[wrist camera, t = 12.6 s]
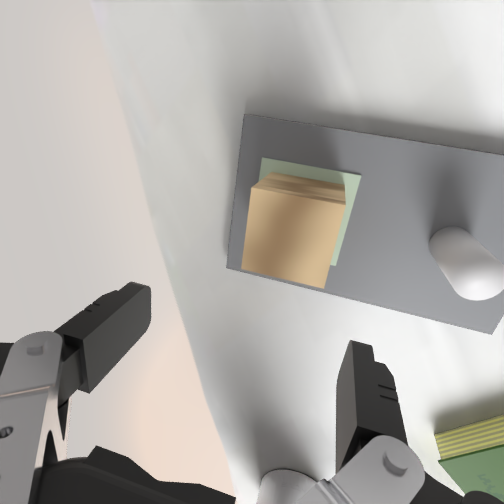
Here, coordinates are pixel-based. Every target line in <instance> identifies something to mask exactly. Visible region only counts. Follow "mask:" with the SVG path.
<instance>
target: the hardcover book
mask: <svg viewBox="0 0 504 504" xmlns="http://www.w3.org/2000/svg"><path fill="white" fill-rule="evenodd" d="M434 436H435V439H436V443H437V446H438V450H439V453H440V457H441V460H438V462H439V464H440V465H441V466H442V467H443V468H444V469H445V471H446V472H447V473H448V474H449V475H450V477H451V478H452V479H453V480H454V481H455V482H456V484H457V485H458V486H459V487H460V488H461V489H462V491H463V492H464V493H465V494H466V493H468V492H470V491H476V490H477V491H482V492H486V493H488V494H490V495H493V496H494V497H496V498H498V499H499V500H501V501H502V502H504V414H503V415H500V416H497V417H493V418H490V419H486V420H483V421H479V422H476V423H472V424H469V425H465V426H462V427H459V428H455V429H452V430H448V431H445V432H441V433H438V434H434Z"/></svg>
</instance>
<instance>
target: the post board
mask: <svg viewBox="0 0 504 504" xmlns="http://www.w3.org/2000/svg"><path fill="white" fill-rule="evenodd" d="M271 172H275V173H281V174H287V175H292V176H298V177H303V178H309V179H315V180H320V181H326V182H331V183H337V184H343V185H345V199H346V207H345V210H344V214H343V218H342V222H341V226H340V229H339V233H338V237H337V241H336V245H335V248H334V252H333V256H332V260H331V264H330V267H329V271H328V275H327V279H326V283H325V286H324V289H323V288H318V287H314V286H310V285H306V284H302V283H298V282H293V281H289V280H285V279H281V278H277V277H273V276H268V275H264V274H260V273H256V272H252V271H248V270H243V269H241V266H242V258H243V250H244V242H245V234H246V227H247V219H248V211H249V203H250V195H251V187H253V186H254V185H255V184H257V183H258V182H259V181H260V180H262V179H263V178H264V177H265V176H267V175H268V174H269V173H271ZM226 268H228V269H232V270H236V271H240V272H244V273H248V274H252V275H256V276H260V277H264V278H268V279H272V280H276V281H280V282H284V283H288V284H292V285H296V286H300V287H304V288H308V289H312V290H316V291H320V292H324V293H328V294H332V295H336V296H340V297H344V298H348V299H352V300H356V301H360V302H364V303H368V304H372V305H376V306H380V307H383V308H387V309H391V310H395V311H399V312H403V313H407V314H411V315H415V316H419V317H423V318H427V319H431V320H435V321H439V322H443V323H447V324H451V325H455V326H459V327H463V328H467V329H471V330H475V331H479V332H483V333H487V334H491V335H492V334H493V332H494V330H495V329H496V327H497V325H498V323H499V322H500V320H501V318H502V317H503V315H504V155H500V154H494V153H488V152H482V151H475V150H469V149H463V148H456V147H450V146H444V145H437V144H431V143H425V142H419V141H412V140H406V139H400V138H393V137H387V136H381V135H375V134H368V133H362V132H356V131H349V130H343V129H337V128H330V127H324V126H318V125H312V124H305V123H299V122H293V121H286V120H280V119H274V118H268V117H261V116H255V115H247V114H244V119H243V128H242V137H241V145H240V154H239V162H238V171H237V180H236V188H235V197H234V206H233V214H232V223H231V231H230V240H229V249H228V257H227V266H226Z"/></svg>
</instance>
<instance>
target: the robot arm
mask: <svg viewBox="0 0 504 504" xmlns="http://www.w3.org/2000/svg"><path fill="white" fill-rule="evenodd" d="M150 321H151V289H150V287H149V286H146V285H142V284H138V283H135V282H129V283H128V284H127V285H125V286H124V287H123V288H122V289H120V290H119V291H117V290H115V291H112V292H110V293H107V294H105V295H102V296H101V297H100V298H98V299H97V300H96V301H94V302H93V304H90V305H89V306H87V307H86V308H85V309H84V310H82V311H81V312H79V313H78V314H77V315H75V316H74V317H73V318H71V319H70V320H69V321H68V322H66V323H65V324H63V325H62V326H61V327H59V328H58V329H56V330H55V331H54V332H50V331H43V332H36V333H32V334H29V335H27V336H25V337H23V338H21V339H20V340H18V341H17V342H15V343H0V504H235V500H236V497H233V496H231V495H228V494H225V493H223V492H220V491H217V490H214V489H212V488H209V487H206V486H204V485H201V484H194V483H179V482H163V481H158V480H156V479H155V478H153V477H152V476H151V475H150V474H148V473H147V472H146V471H145V470H143V469H142V468H141V467H140V466H138V465H137V464H136V463H135V462H134V461H132V460H131V459H130V458H128V457H126V456H123V455H120V454H118V453H115V452H112V451H110V450H107V449H104V448H102V447H99V446H96V447H95V448H94V449H93V450H92V452H91V453H90V455H89V456H88V457H78V458H70V459H67V441H68V431H69V422H70V412H71V402H72V399H71V395H72V394H73V393H74V392H75V391H76V390H77V389H78V390H81V391H84V392H87V393H90V392H91V391H92V390H93V389H94V388H95V387H96V386H97V385H98V384H99V383H100V381H101V380H102V379H103V378H104V377H105V376H106V375H107V374H108V373H109V371H110V370H111V369H112V368H113V367H114V366H115V365H116V364H117V363H118V362H119V361H120V359H121V358H122V357H123V356H124V355H125V354H126V353H127V352H128V350H130V348H131V347H132V346H133V345H134V344H135V343H136V342H137V341H138V340H139V339H140V337H141V336H142V335H143V334H144V333H145V332H146V330H147V329H148V327H149V324H150ZM256 504H504V502H502V501H501V500H499V499H498V498H496V497H494V496H493V495H490V494H488V493H486V492H482V491H477V490H476V491H470V492H468V493H466V494H465V496H464V497H462V496H461V495H459V494H458V493H456V492H454V491H453V490H451V489H449V488H448V487H446V486H445V485H443V484H441V483H440V482H438V481H437V480H435V479H434V478H432V477H431V476H430V475H429V474H427V473H426V472H425V471H424V468H423V465H422V463H421V461H420V459H419V458H418V456H417V455H416V454H415V453H414V451H413V450H412V449H411V448H410V447H409V446H408V443H407V438H406V433H405V429H404V424H403V419H402V414H401V410H400V405H399V403H398V396H397V392H396V386H395V382H394V377H393V375H392V374H391V372H390V371H389V369H388V368H387V366H386V365H385V364H383V363H379V362H376V361H374V354H373V348H372V346H371V345H368V344H364V343H360V342H356V341H353V340H350V342H349V344H348V347H347V350H346V353H345V356H344V359H343V362H342V365H341V368H340V371H339V374H338V379H337V387H336V475H335V476H334V477H333V478H332V479H330V480H329V481H327V480H326V479H322V480H320V481H319V482H318V483H317V482H315V481H314V480H313V479H311V478H310V477H308V476H306V475H304V474H301V473H299V472H295V471H291V470H274V471H271V472H268V473H267V474H266V475H264V477H263V478H262V481H261V486H260V490H259V494H258V499H257V503H256Z"/></svg>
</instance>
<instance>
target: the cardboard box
mask: <svg viewBox="0 0 504 504" xmlns="http://www.w3.org/2000/svg"><path fill="white" fill-rule="evenodd" d="M345 207H346V199H345V185H343V184H337V183H331V182H326V181H320V180H315V179H309V178H303V177H298V176H292V175H287V174H281V173H275V172H271V173H269V174H268V175H267V176H265V177H264V178H263V179H262V180H260V181H259V182H258V183H257V184H255V185H254V186H253V187H251V195H250V203H249V211H248V219H247V227H246V234H245V242H244V250H243V258H242V266H241V269H243V270H248V271H252V272H256V273H260V274H264V275H268V276H273V277H277V278H281V279H285V280H289V281H293V282H298V283H302V284H306V285H310V286H314V287H318V288H323V289H324V286H325V283H326V279H327V275H328V271H329V267H330V264H331V260H332V256H333V252H334V248H335V245H336V241H337V237H338V233H339V229H340V226H341V222H342V218H343V214H344V210H345Z"/></svg>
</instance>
